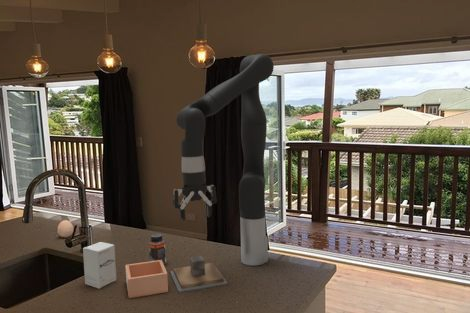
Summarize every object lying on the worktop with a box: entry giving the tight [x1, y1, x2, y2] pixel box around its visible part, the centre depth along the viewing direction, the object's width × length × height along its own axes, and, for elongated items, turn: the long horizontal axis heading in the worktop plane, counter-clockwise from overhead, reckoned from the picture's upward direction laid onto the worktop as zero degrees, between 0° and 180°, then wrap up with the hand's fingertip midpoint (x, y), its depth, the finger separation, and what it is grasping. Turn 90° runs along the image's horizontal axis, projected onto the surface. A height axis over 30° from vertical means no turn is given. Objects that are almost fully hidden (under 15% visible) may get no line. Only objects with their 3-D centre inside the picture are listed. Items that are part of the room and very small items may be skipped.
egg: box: [57, 219, 74, 238], centre depth 179 cm, size 7×7×8 cm
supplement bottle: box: [148, 233, 167, 266], centre depth 145 cm, size 6×6×11 cm
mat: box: [169, 264, 228, 294], centre depth 133 cm, size 16×16×1 cm
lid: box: [172, 256, 225, 289], centre depth 133 cm, size 14×14×6 cm
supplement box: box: [82, 241, 117, 290], centre depth 131 cm, size 7×7×13 cm
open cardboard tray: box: [125, 260, 169, 299], centre depth 127 cm, size 12×12×6 cm
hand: (196, 218), depth 130 cm, fingers open, 8 cm apart
